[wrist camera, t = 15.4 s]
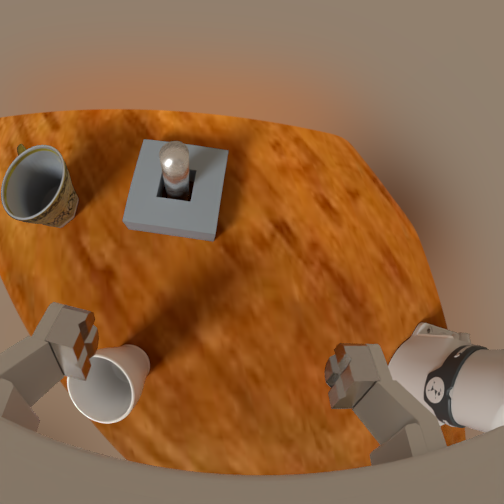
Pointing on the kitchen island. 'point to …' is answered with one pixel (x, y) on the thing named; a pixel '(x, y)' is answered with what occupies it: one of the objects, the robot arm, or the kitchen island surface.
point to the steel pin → (175, 169)
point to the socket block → (171, 210)
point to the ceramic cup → (39, 187)
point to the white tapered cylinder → (111, 383)
